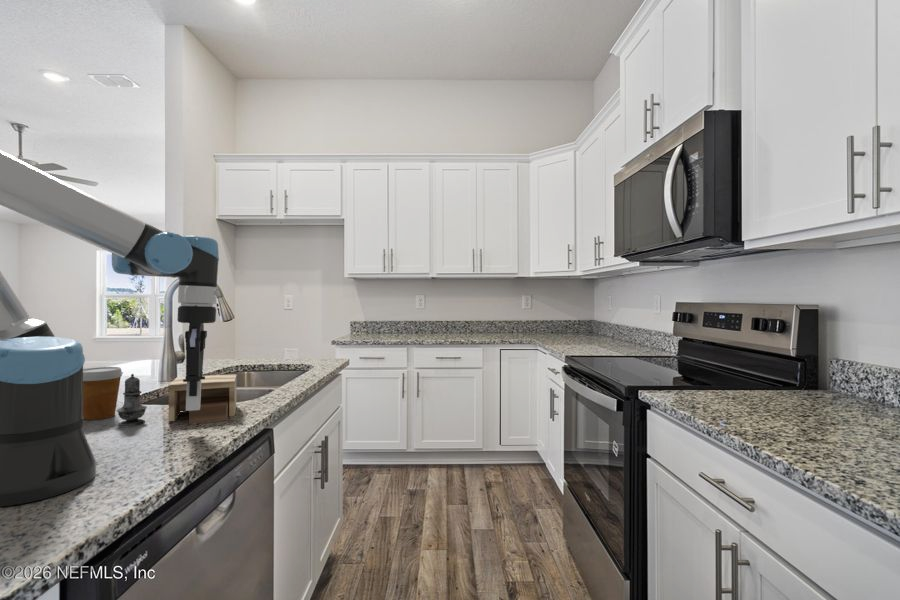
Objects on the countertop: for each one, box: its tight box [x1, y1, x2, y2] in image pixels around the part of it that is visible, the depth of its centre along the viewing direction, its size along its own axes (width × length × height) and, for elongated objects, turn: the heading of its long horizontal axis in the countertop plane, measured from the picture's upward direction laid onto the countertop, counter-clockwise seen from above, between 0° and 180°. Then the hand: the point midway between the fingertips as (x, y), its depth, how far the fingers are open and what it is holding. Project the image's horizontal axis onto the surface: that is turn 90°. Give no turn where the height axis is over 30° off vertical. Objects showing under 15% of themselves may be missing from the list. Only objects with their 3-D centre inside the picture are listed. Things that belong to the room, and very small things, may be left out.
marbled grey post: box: [116, 373, 148, 427], centre depth 105 cm, size 6×6×12 cm
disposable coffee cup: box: [83, 366, 124, 421], centre depth 110 cm, size 10×10×12 cm
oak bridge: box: [168, 373, 238, 423], centre depth 114 cm, size 11×14×9 cm
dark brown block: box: [188, 396, 229, 425], centre depth 112 cm, size 12×8×4 cm, turn 22°
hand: (192, 409), depth 98 cm, fingers closed
